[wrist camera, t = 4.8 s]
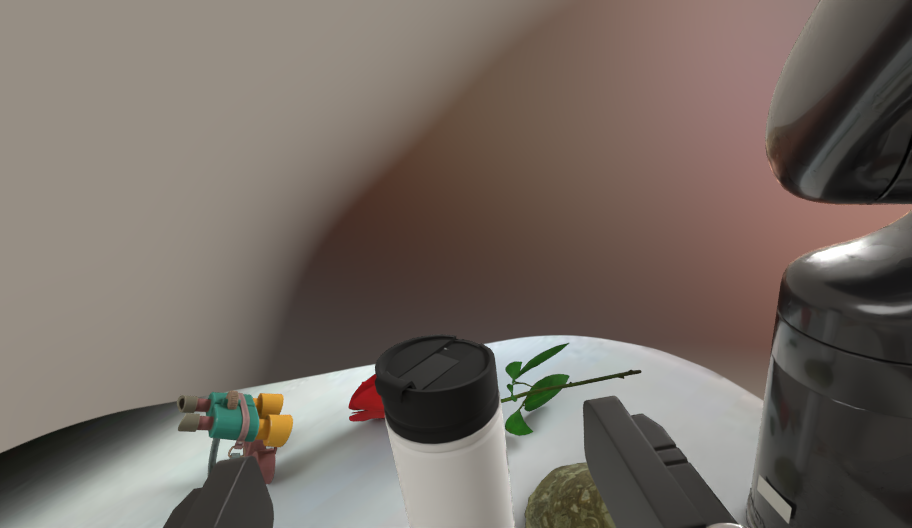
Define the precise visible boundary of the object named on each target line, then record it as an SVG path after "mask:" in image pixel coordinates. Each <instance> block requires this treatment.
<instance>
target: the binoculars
mask: <svg viewBox="0 0 912 528" xmlns="http://www.w3.org/2000/svg"><path fill="white" fill-rule="evenodd" d="M283 400H284V399H283V395H282V394H263V393H260V394H259V396H258V399H257V398H252V396H251V395H247V394H243V393H238V392H237V391H229V392H228V393H216V392H212V393H211V394H210V395H209V398H208V399H199V398H198V397H196V396H195V397H194V396H183V395H182V396H180V397H179V398H178V400H177V406H178V409H179V411H180V412H184V413H186V415H185V416H184V418H183V419H182V421H181V423H180V425H179V427H178V431H187V432H195V431H196V430H208V431H209V437H210V438H213V441H212V446H211V451H210V456H209V463H208V476H209V474H210V472H211V471H212V469H213V467H214V465H215V464H216V457H217V451H218V446H219V442H220V439H228V440H237V441H236V443H235V446H232V447H231V449H230V450H229V452H228V456H229V457H230V459H234V458H240V457H246V456H254V457H255V458H256V460H257V462H258V464H259V467H260V470H261V473H262V476H263V478H264V481H265V484H270V483H271V481H272V479H273V476H274V471H275V454H276V451H277V447H282V446H283V445H284V444H285V443H286V441H287V440H288V438H289V436H290V433H291V430H292V426H293V418H292V416H291V415H279V414H280V412H281V409H282V406H283ZM195 411H198V412H206V416H200V414H191V413H194V412H195ZM266 446H271V447H274V449H273V448H270V449H266ZM233 448H234V449H242V448H243V455H242V456H240V453H232V454H231V455H230V453H231V450H232V449H233Z"/></svg>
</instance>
